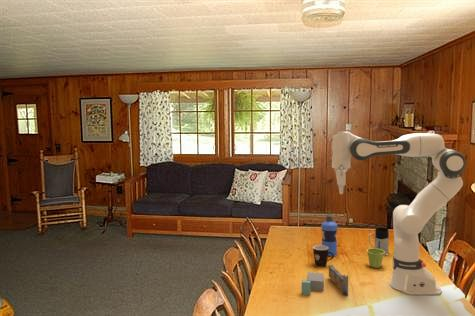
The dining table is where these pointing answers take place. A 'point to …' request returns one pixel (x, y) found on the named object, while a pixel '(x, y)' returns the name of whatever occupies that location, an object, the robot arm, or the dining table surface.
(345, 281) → the hinge post
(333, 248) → the water bottle
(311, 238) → the dining table surface
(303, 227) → the dining table surface
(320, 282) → the rubber block
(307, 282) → the grey-green rectangular block
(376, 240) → the lidded pitcher
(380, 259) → the plant pot
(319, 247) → the coffee mug
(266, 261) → the dining table surface
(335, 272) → the gate
